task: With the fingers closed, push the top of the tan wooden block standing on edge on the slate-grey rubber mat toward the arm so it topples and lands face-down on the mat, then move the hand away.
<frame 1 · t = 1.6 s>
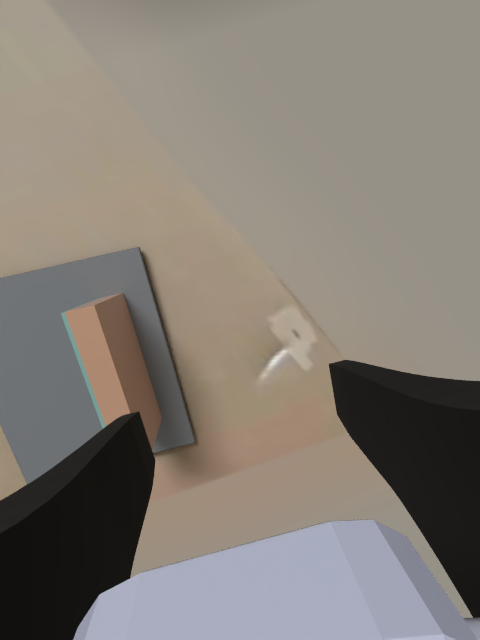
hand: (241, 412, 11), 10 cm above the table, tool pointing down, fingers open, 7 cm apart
tan wooden block: (131, 361, 20), resting on mat
mat: (81, 371, 21), on the table
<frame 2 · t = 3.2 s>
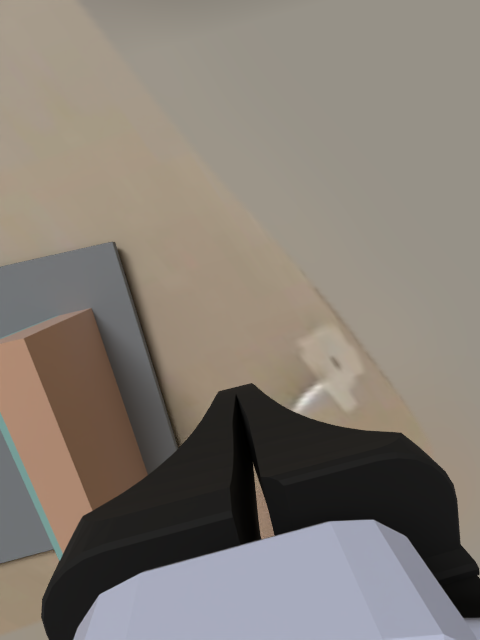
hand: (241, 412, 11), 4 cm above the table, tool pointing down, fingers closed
tan wooden block: (105, 404, 14), resting on mat
mat: (35, 418, 15), on the table
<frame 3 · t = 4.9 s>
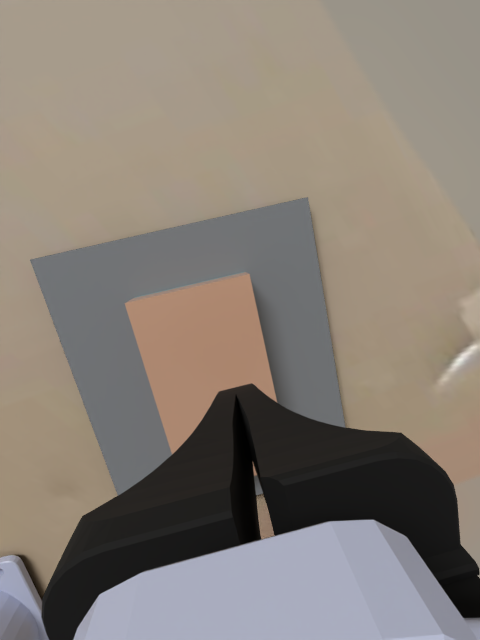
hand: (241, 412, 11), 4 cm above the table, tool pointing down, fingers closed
tan wooden block: (268, 370, 14), point 1 cm above the table, tilted 90°, touching mat
mat: (211, 374, 15), on the table
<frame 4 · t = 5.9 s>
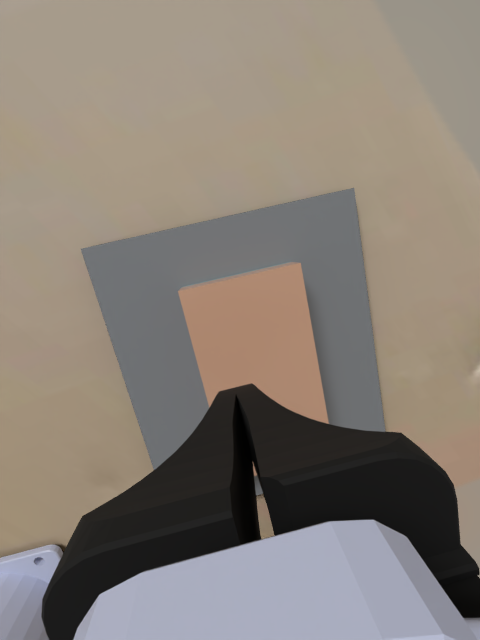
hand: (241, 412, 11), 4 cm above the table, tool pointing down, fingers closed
tan wooden block: (312, 359, 14), point 1 cm above the table, tilted 90°, touching mat
mat: (252, 364, 15), on the table
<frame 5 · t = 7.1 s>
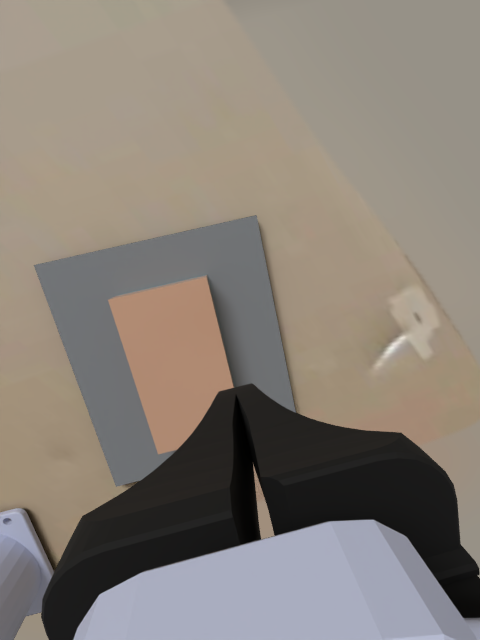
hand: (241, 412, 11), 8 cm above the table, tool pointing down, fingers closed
tan wooden block: (226, 354, 17), point 1 cm above the table, tilted 90°, touching mat
mat: (181, 358, 18), on the table
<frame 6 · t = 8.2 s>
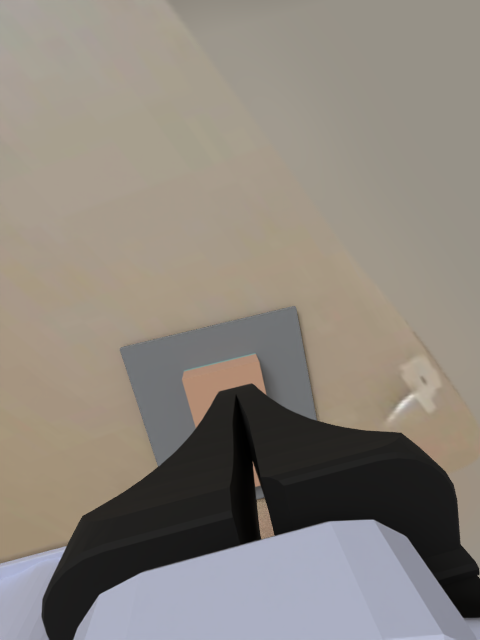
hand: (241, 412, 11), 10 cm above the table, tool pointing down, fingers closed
tan wooden block: (270, 416, 21), point 1 cm above the table, tilted 90°, touching mat
mat: (231, 417, 22), on the table
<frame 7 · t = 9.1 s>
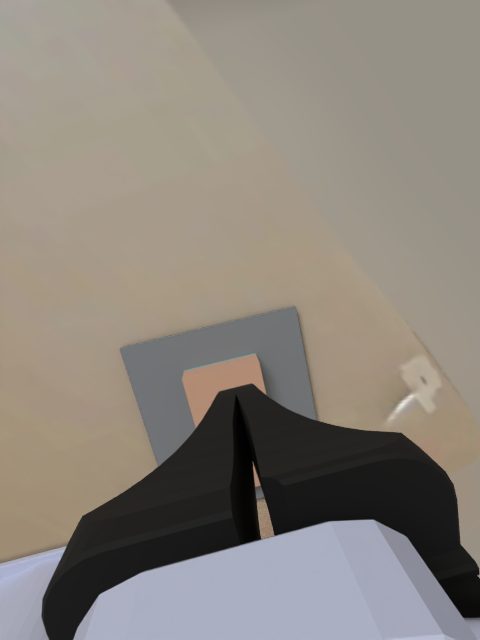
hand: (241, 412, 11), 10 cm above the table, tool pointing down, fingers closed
tan wooden block: (270, 416, 21), point 1 cm above the table, tilted 90°, touching mat
mat: (231, 417, 22), on the table
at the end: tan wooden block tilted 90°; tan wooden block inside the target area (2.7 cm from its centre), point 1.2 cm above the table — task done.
